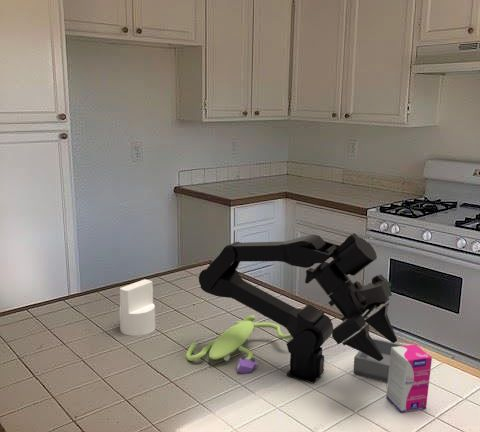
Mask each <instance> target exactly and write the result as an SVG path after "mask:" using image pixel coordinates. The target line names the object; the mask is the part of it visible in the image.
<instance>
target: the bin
mask: <svg viewBox="0 0 480 432" xmlns="http://www.w3.org/2000/svg"><path fill="white" fill-rule="evenodd" d="M370 337H371V338H372V340H373V341H374V343H375V344H376V346H377V348H378V349H379V351H380V352H381V354H382V356H383V360H381V361H378V360H376V359H374V358H372V357H370V356H368V355H366V354H365V353H363V352H361V351H359V350H358V351H357V353H356V354H355V355H354V358H353V372H352V373H353V375H357V376H361V377H365V378H369V379H372V380H377V381H379V382H384V383H387V384H388V375H389V365H390V355H391V347H397V346H406V345H407V344H403V343H399V342H395V343H392V342H391V341H389V340H386V339H385V340H384V339H380V338H375V337H372V336H370Z"/></svg>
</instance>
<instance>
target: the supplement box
mask: <svg viewBox="0 0 480 432" xmlns="http://www.w3.org/2000/svg"><path fill="white" fill-rule="evenodd" d="M405 345H406V346H397V347H391V355H390V365H389V375H388V383H387V386H386V387H387V388H386V400H388V402H390V404H391V405H392V406H393V407H395V409H396V410H398V412H399V413H407V412H412V411H413V412H414V411H419V410H426V409H427V404H428V402H427V401H428V395H429V387H430V378H431V369H432V359H433V358H432V356H431V355H430V354H428V353H427V352H426V351H424V350H423V349H422V348H421V347H420V346H419V345H417V344H416V343H414V344H408V345H407V344H405Z"/></svg>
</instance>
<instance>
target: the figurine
mask: <svg viewBox="0 0 480 432" xmlns="http://www.w3.org/2000/svg"><path fill="white" fill-rule="evenodd" d="M255 319H256V316H255V315H254V314H253V315H252V314H250V315H248V316H246V317H245V318H244V319H243V320H237V321H236V322H235V324H234V325H232V326H231V327H229V328H228V329H226V330H225V331H224V332H222V334H220V335H219V337H217V338H216V340H215V339H214V340H212V341H211V342H209V344H207V345H206V346H204V347H202V349H201V351H200V352H198V353H196V354H193V355H192V353H193V352H194V350H195V349H196V347H197V343H195V342H192V343H191V344H190V346H189V348H188V349H187V351H186V353H185V358H186V360H188V361H189V362H193V361H197V360H199V359H201V358H203V357H204V356H205V355H207V352H208V351H209V352H208V355H209V359H212V360H219V359H223V360H224V361H226V362H230V360H231V354H233V353H235V351H236V350H238V351H240V352H242V353H244V354H246V355H247V357H245V355H241V356H240V357H239V358H238V361H237V362H236V363H235V365H236V372H237V373H242V374H245V373H246V374H247V373H251V372H252V371H253V370H255V368H256V367H257V365H258V361H256V359H255V358H254V353H253V351H251V350H250V349H248V348H246V347H244V346H243V345H244V344H245V342H247V340H248V339H249V337H250V336H251V335H252V333H253V331H254V329H255V328H271V329H275V330H276V334H277V337H278V338H280V339H283V340H286V339H287V340H288V339H292V338H293V337H292V336H291V335H290V334H284V333H282V331H281V325H280V324H278V323H273V322H253V321H255Z"/></svg>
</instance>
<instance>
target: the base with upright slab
mask: <svg viewBox="0 0 480 432" xmlns="http://www.w3.org/2000/svg"><path fill="white" fill-rule="evenodd" d="M153 288H154V287H153V281H152V280H149V279H145V278H144V279H141V280H139V281H135V282H134V283H130V284H128V285H125V286H121V287H120V288H119V301H120V303H119V305H120V306H119V323H120V324H119V325H120V328H119V329H120V332H121V334H123V335H126V336H130V337H138V336H140V337H141V336H145V335H148V334H150V333H152V332H154V331H155V329H156V305H155V304H154V291H153Z"/></svg>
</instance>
